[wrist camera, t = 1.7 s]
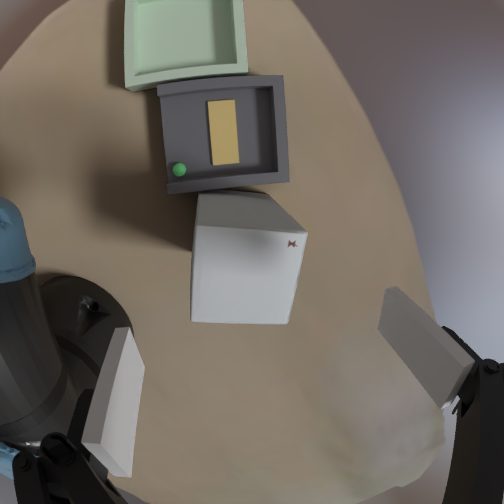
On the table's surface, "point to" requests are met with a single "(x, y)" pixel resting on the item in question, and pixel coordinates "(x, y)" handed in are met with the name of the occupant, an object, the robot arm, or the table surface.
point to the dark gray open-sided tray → (224, 132)
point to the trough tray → (182, 41)
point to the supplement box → (244, 259)
